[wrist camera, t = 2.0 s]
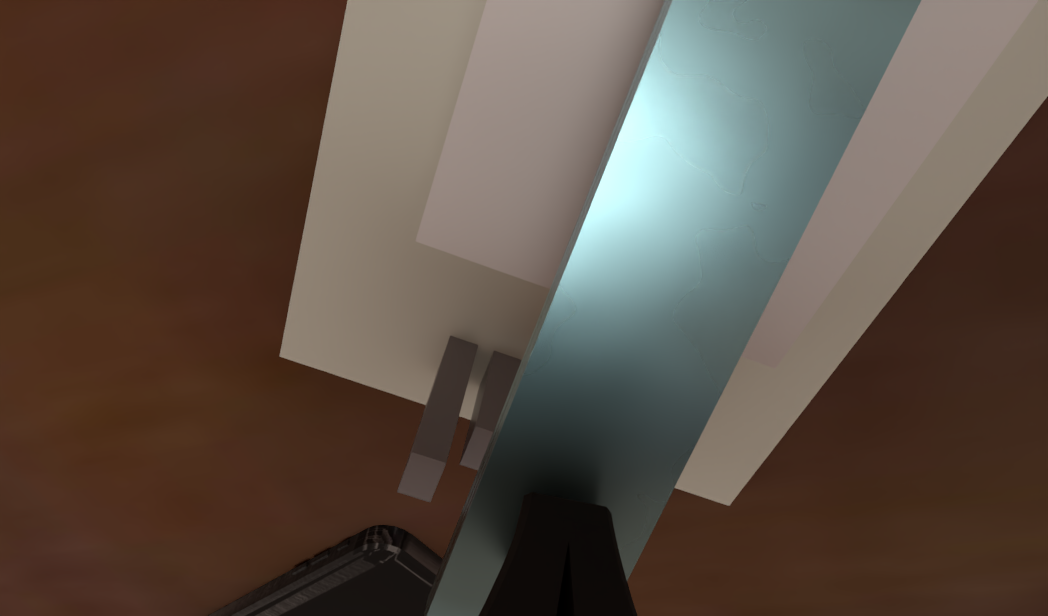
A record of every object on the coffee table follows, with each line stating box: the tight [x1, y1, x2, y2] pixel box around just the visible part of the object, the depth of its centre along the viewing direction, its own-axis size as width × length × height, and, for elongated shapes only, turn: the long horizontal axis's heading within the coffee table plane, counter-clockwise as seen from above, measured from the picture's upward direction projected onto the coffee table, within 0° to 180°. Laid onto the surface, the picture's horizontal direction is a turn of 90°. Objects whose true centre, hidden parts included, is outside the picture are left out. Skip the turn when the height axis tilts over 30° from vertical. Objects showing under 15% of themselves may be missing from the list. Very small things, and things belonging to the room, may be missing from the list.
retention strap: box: [424, 0, 921, 616], centre depth 11 cm, size 3×18×1 cm, turn 161°
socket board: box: [280, 0, 1048, 506], centre depth 14 cm, size 14×22×5 cm, turn 161°
